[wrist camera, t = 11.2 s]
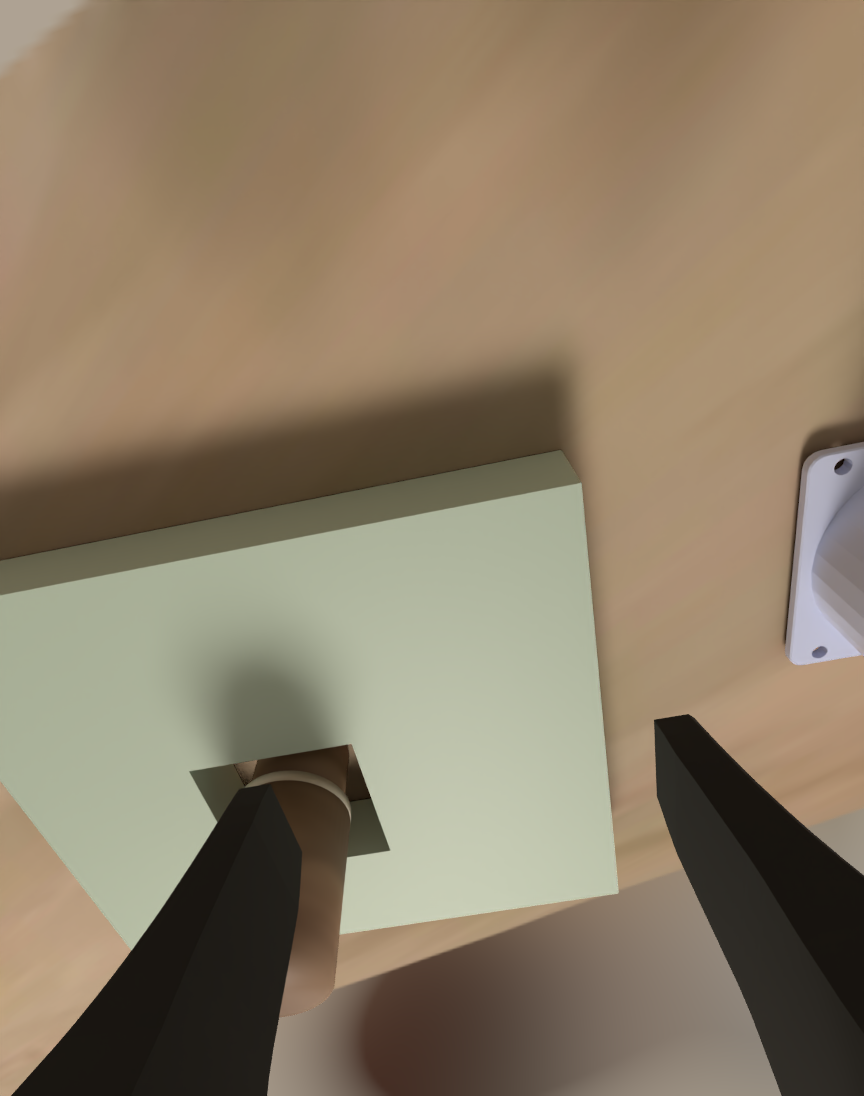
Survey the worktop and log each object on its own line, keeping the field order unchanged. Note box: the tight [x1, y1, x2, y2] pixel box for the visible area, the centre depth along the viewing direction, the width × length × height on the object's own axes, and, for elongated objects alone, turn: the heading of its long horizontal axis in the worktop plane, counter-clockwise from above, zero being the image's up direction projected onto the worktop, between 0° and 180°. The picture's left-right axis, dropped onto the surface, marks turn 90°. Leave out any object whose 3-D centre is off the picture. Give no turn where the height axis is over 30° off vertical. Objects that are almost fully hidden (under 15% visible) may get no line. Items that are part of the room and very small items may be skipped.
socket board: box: [0, 450, 619, 951], centre depth 22 cm, size 20×18×2 cm
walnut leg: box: [244, 745, 351, 1017], centre depth 21 cm, size 4×4×8 cm
